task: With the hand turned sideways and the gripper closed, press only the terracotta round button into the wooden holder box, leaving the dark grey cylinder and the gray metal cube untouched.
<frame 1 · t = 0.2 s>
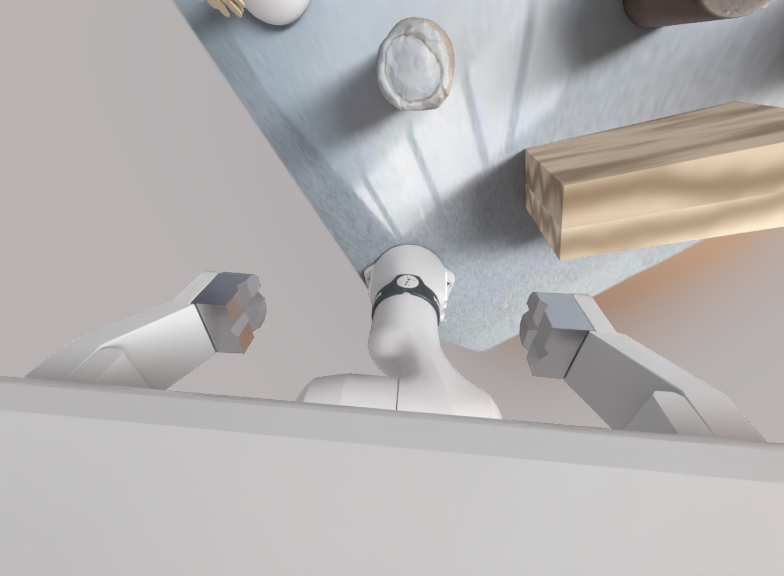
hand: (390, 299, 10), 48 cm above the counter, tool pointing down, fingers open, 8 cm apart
paper wrapped package: (421, 63, 46), on the counter
wooden holder box: (618, 160, 50), on the counter
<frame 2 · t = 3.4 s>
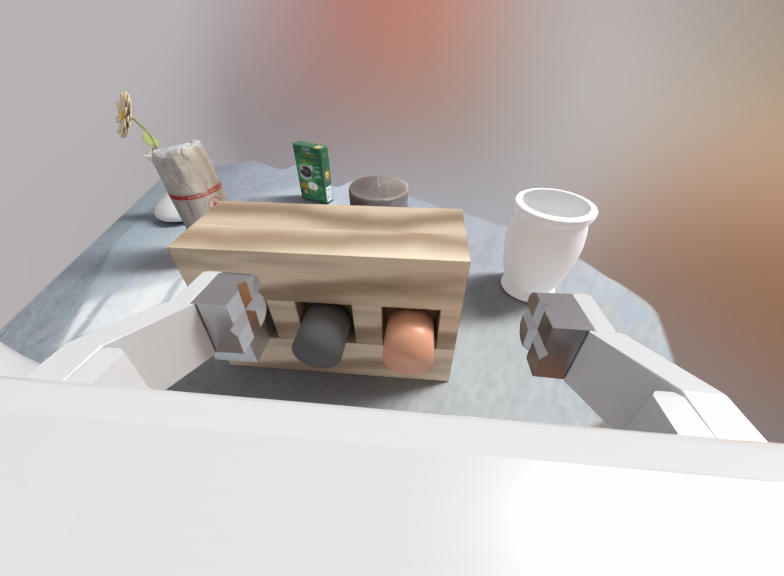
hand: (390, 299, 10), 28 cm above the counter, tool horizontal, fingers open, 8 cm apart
gray metal cube: (240, 328, 34), point 9 cm above the counter, slide at 0.0 cm
flower in vase: (186, 217, 73), on the counter
pillar candle: (381, 257, 60), on the counter
coffee box: (318, 200, 79), on the counter
jar: (526, 287, 53), on the counter
paper wrapped package: (224, 253, 61), on the counter
terracotta button: (409, 339, 33), point 9 cm above the counter, slide at 0.0 cm
dark grey cylinder: (323, 333, 33), point 9 cm above the counter, slide at 0.0 cm
wooden holder box: (344, 342, 44), on the counter
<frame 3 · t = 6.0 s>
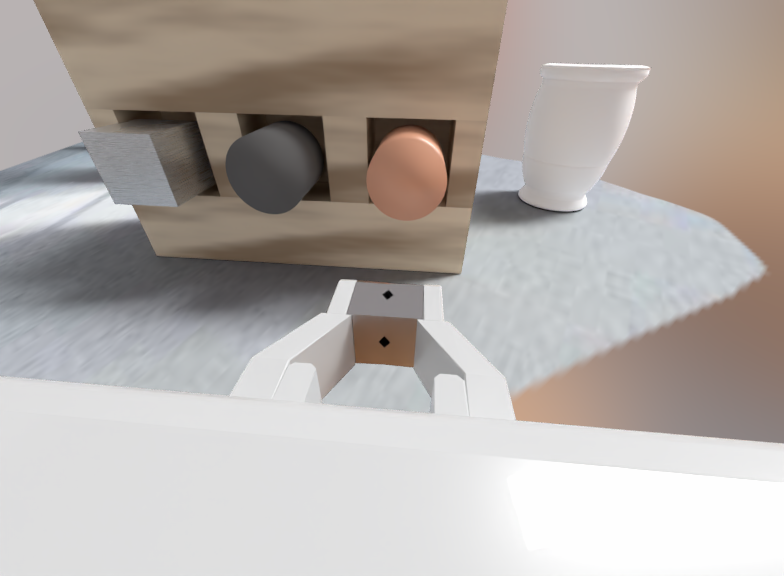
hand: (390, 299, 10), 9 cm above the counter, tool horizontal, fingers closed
gray metal cube: (156, 161, 23), point 9 cm above the counter, slide at 0.0 cm
jar: (550, 202, 43), on the counter
terracotta button: (408, 171, 22), point 9 cm above the counter, slide at 0.0 cm
dark grey cylinder: (279, 166, 22), point 9 cm above the counter, slide at 0.0 cm
wooden holder box: (319, 239, 33), on the counter
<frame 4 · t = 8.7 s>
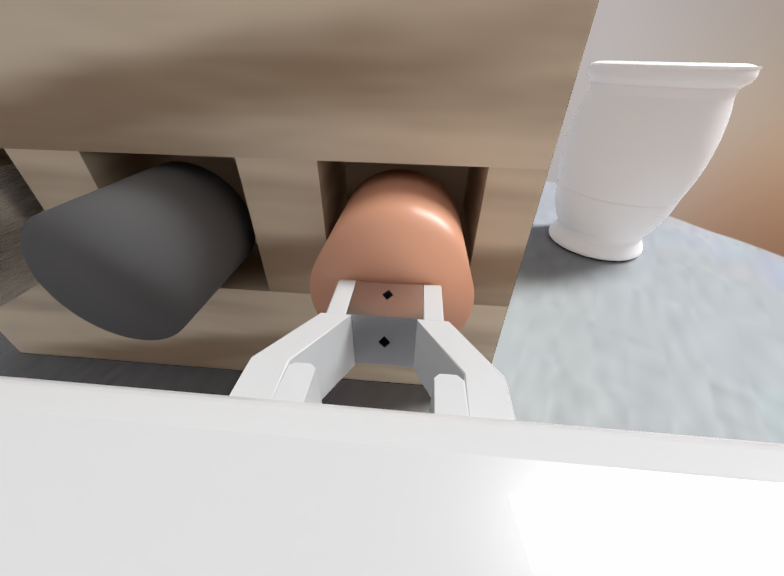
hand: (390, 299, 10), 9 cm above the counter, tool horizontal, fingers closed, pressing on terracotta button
jar: (590, 243, 33), on the counter
terracotta button: (396, 258, 12), point 9 cm above the counter, slide at 0.2 cm, touching gripper
dark grey cylinder: (161, 246, 12), point 9 cm above the counter, slide at 0.0 cm
wooden holder box: (274, 314, 23), on the counter
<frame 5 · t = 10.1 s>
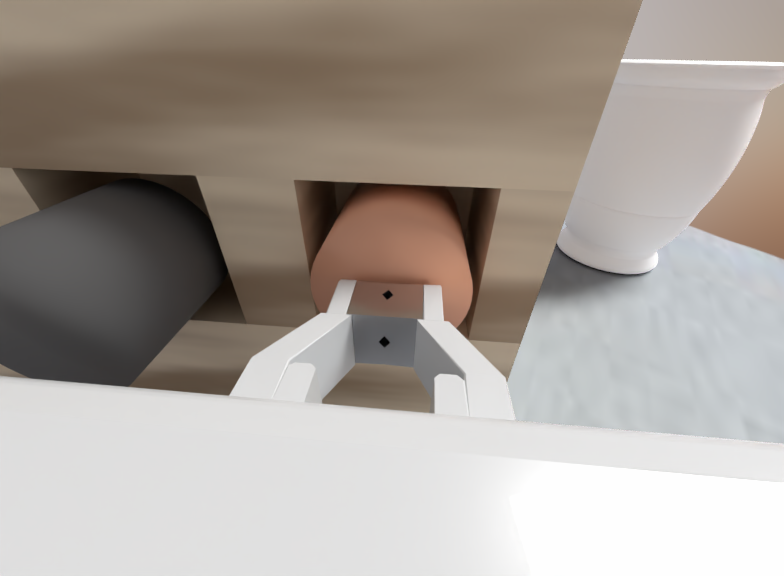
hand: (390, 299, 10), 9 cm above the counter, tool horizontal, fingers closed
jar: (601, 253, 31), on the counter
terracotta button: (396, 254, 12), point 9 cm above the counter, slide at 2.7 cm
dark grey cylinder: (112, 280, 10), point 9 cm above the counter, slide at 0.0 cm
wooden holder box: (260, 337, 21), on the counter
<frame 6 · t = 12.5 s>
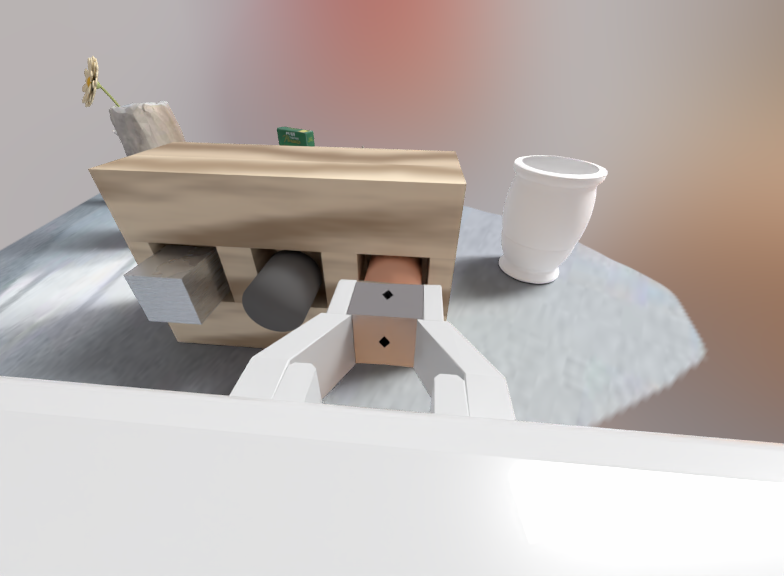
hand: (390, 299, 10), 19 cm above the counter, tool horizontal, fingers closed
gray metal cube: (183, 283, 28), point 9 cm above the counter, slide at 0.0 cm
flower in vase: (158, 203, 68), on the counter
coffee box: (303, 191, 75), on the counter
jar: (527, 270, 48), on the counter
paper wrapped package: (192, 235, 55), on the counter
terracotta button: (393, 278, 29), point 9 cm above the counter, slide at 2.7 cm
dark grey cylinder: (285, 289, 27), point 9 cm above the counter, slide at 0.0 cm
wooden holder box: (318, 319, 37), on the counter
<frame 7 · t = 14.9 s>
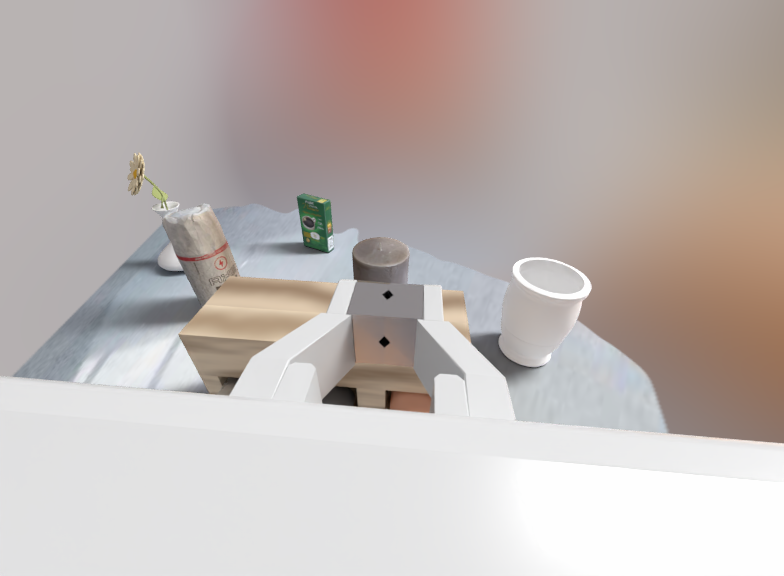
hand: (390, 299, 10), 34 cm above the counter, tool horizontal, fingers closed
gray metal cube: (245, 407, 34), point 9 cm above the counter, slide at 0.0 cm
flower in vase: (189, 264, 74), on the counter
pillar candle: (381, 313, 61), on the counter
coffee box: (319, 248, 81), on the counter
jar: (523, 349, 54), on the counter
paper wrapped package: (226, 306, 62), on the counter
terracotta button: (413, 400, 35), point 9 cm above the counter, slide at 2.7 cm
dark grey cylinder: (327, 414, 34), point 9 cm above the counter, slide at 0.0 cm
wooden holder box: (345, 409, 44), on the counter
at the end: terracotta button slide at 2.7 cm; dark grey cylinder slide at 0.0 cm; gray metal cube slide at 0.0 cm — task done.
